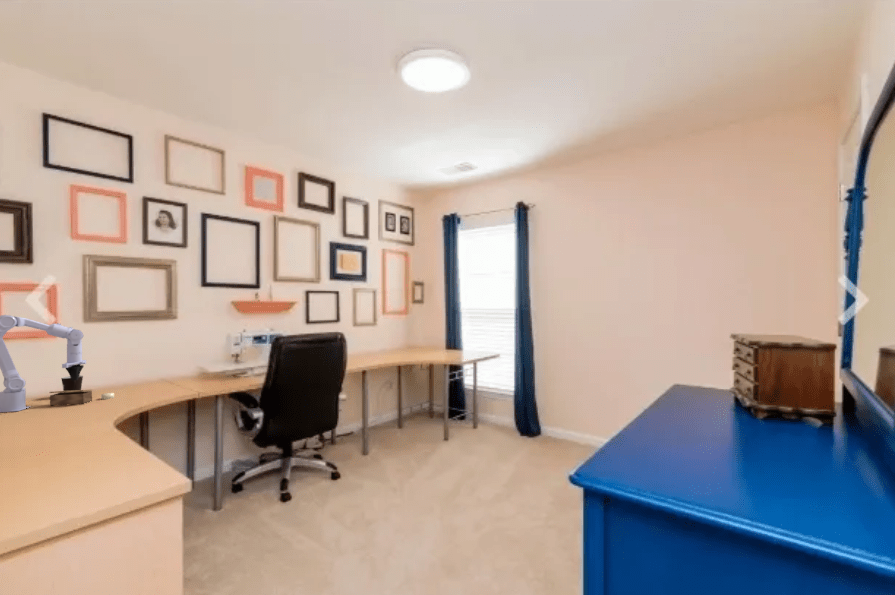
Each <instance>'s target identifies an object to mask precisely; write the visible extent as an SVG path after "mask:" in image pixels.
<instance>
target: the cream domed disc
mask: <svg viewBox="0 0 895 595" xmlns="http://www.w3.org/2000/svg"><path fill="white" fill-rule="evenodd" d="M100 397H101V398H100V399H101V400H103V399H104V400H111V399H110V398H112V399H114V398H115V393H114V392H108V393H107V392H105V393H102V394H101V396H100Z"/></svg>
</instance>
